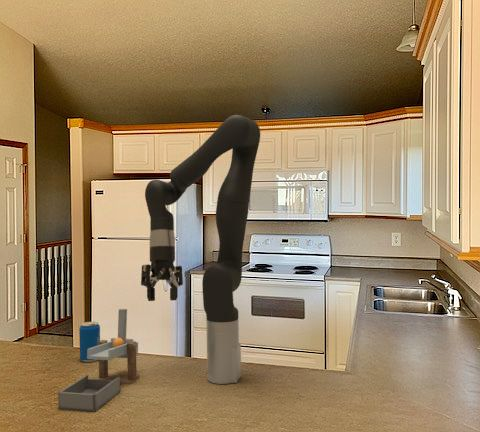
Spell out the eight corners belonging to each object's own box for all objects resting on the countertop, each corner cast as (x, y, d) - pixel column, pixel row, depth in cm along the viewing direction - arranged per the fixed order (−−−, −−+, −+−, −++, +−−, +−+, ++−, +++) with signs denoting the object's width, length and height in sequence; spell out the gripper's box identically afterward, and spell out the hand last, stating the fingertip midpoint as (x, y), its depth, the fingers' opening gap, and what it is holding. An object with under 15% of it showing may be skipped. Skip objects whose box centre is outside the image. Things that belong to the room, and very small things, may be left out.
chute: (139, 355, 144) (140, 308, 145) (110, 368, 126) (111, 314, 128) (118, 354, 146) (119, 307, 147) (86, 367, 128) (88, 313, 129)
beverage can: (94, 363, 154) (93, 326, 153) (76, 362, 155) (75, 325, 155) (104, 357, 160) (103, 321, 160) (86, 356, 161) (85, 321, 161)
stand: (140, 378, 139) (139, 340, 139) (132, 384, 134) (131, 345, 134) (103, 375, 142) (103, 338, 141) (95, 381, 137) (94, 343, 137)
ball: (125, 348, 140) (126, 337, 140) (120, 350, 136) (121, 338, 137) (115, 347, 140) (116, 336, 141) (110, 349, 137) (110, 338, 137)
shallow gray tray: (120, 391, 128) (119, 377, 128) (95, 411, 116) (94, 395, 116) (86, 389, 131) (86, 374, 130) (58, 408, 118) (58, 392, 118)
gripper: (152, 243, 136) (152, 301, 133) (188, 246, 147) (189, 299, 144) (135, 245, 140) (135, 301, 138) (171, 248, 151) (172, 300, 148)
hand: (162, 300), depth 141 cm, fingers open, 8 cm apart
